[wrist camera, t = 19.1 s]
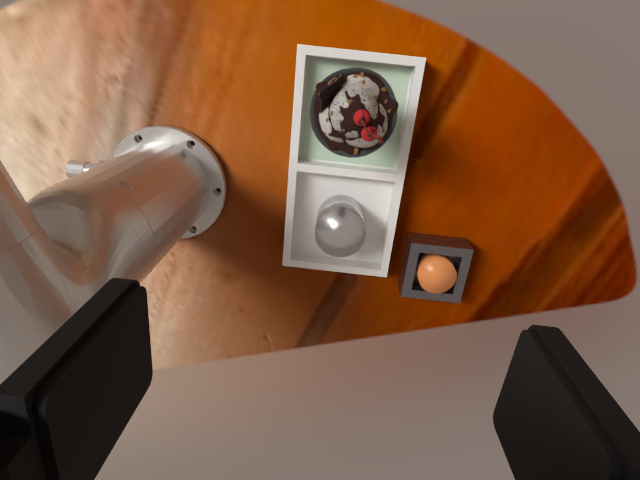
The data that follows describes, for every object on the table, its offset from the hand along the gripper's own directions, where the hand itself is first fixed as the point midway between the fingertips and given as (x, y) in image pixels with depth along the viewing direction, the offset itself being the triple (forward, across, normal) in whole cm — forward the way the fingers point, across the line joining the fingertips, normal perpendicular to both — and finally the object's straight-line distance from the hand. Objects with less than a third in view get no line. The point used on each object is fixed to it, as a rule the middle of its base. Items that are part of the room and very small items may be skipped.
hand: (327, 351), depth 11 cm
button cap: (+35, -12, +14) cm, 39 cm away
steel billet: (+35, -1, +9) cm, 37 cm away
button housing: (+36, -12, +14) cm, 41 cm away
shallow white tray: (+36, -1, +4) cm, 37 cm away
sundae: (+35, -1, -3) cm, 35 cm away
